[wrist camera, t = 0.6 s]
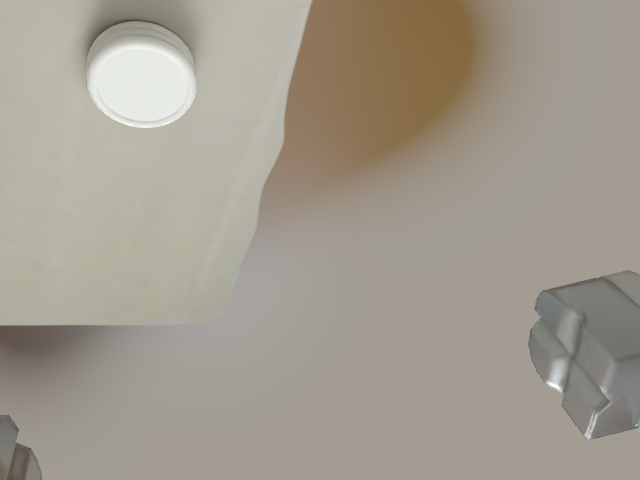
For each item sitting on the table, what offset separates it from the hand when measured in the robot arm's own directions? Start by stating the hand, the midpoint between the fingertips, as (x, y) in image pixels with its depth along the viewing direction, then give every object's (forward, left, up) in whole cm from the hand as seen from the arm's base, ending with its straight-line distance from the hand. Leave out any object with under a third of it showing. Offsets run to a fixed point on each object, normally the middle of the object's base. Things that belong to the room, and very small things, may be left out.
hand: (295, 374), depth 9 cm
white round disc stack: (+22, +11, -47) cm, 53 cm away
